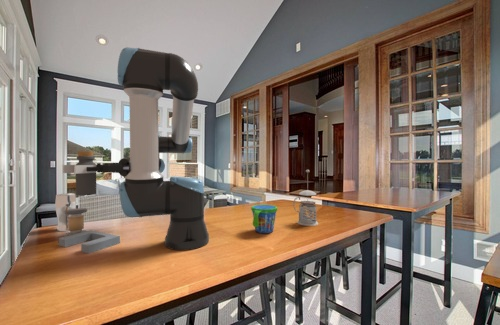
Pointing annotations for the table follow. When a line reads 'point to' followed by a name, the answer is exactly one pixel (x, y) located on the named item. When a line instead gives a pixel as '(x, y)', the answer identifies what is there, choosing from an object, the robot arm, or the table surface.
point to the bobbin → (75, 220)
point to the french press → (307, 208)
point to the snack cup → (264, 218)
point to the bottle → (85, 175)
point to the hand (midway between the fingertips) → (69, 169)
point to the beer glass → (64, 209)
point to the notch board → (97, 243)
